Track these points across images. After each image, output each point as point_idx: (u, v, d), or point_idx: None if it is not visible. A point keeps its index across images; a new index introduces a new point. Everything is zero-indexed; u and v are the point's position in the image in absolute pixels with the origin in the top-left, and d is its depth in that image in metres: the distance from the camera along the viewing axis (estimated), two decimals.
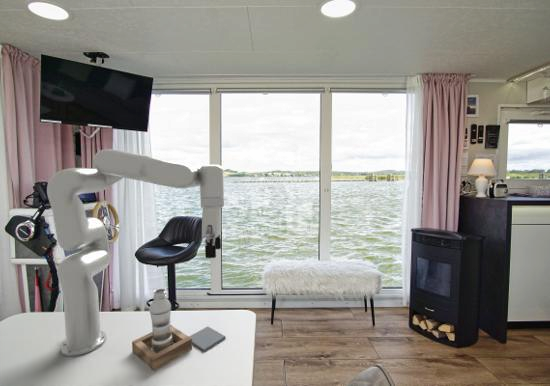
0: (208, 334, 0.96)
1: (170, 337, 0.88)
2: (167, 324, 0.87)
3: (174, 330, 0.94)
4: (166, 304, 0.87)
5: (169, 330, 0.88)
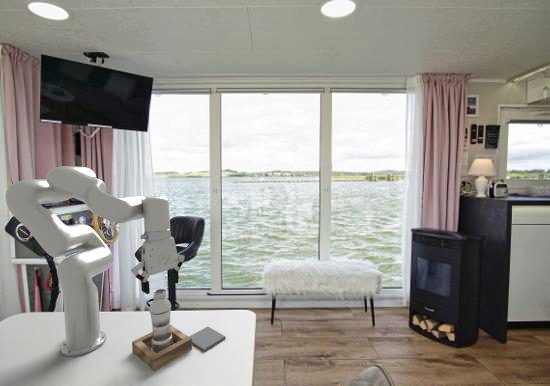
0: (208, 334, 0.96)
1: (170, 337, 0.88)
2: (167, 324, 0.87)
3: (174, 330, 0.94)
4: (166, 304, 0.87)
5: (169, 330, 0.88)
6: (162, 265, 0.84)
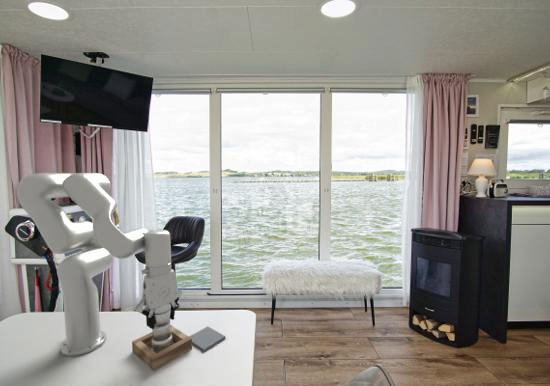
0: (208, 334, 0.96)
1: (170, 337, 0.88)
2: (167, 324, 0.87)
3: (174, 330, 0.94)
4: (166, 304, 0.87)
5: (169, 330, 0.88)
6: (163, 299, 0.85)
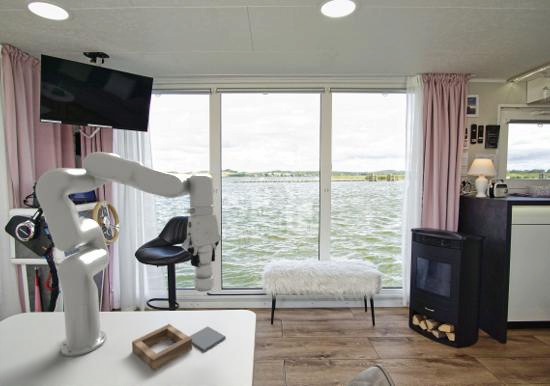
0: (208, 334, 0.96)
1: (212, 277, 0.92)
2: (209, 264, 0.91)
3: (174, 330, 0.94)
4: (209, 244, 0.91)
5: (211, 270, 0.92)
6: (206, 238, 0.89)
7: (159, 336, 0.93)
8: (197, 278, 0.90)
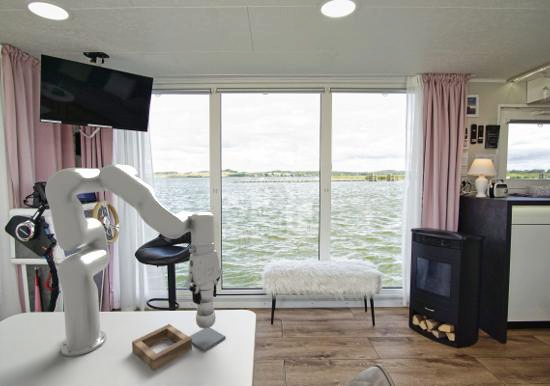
0: (208, 334, 0.96)
1: (213, 313, 0.93)
2: (211, 300, 0.92)
3: (174, 330, 0.94)
4: (210, 281, 0.92)
5: (212, 306, 0.93)
6: (207, 276, 0.90)
7: (159, 336, 0.93)
8: (199, 315, 0.91)
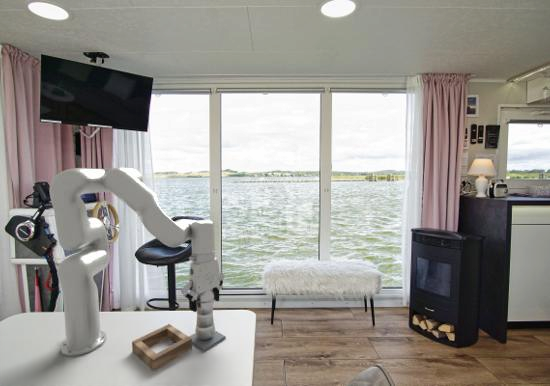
0: None
1: (213, 325, 0.94)
2: (211, 312, 0.93)
3: (174, 330, 0.94)
4: (210, 293, 0.92)
5: (212, 318, 0.93)
6: (208, 284, 0.91)
7: (159, 336, 0.93)
8: (198, 327, 0.92)
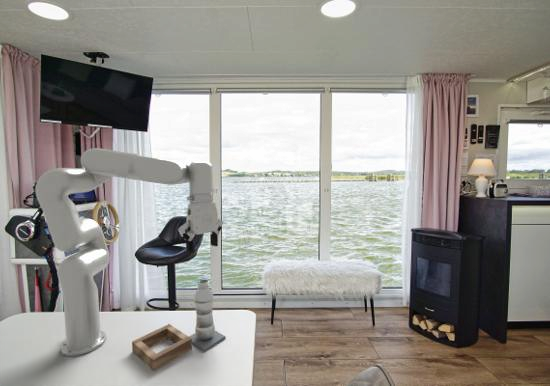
0: None
1: (213, 325, 0.94)
2: (210, 312, 0.93)
3: (174, 330, 0.94)
4: (210, 293, 0.92)
5: (212, 318, 0.93)
6: (205, 226, 0.89)
7: (159, 336, 0.93)
8: (198, 327, 0.92)
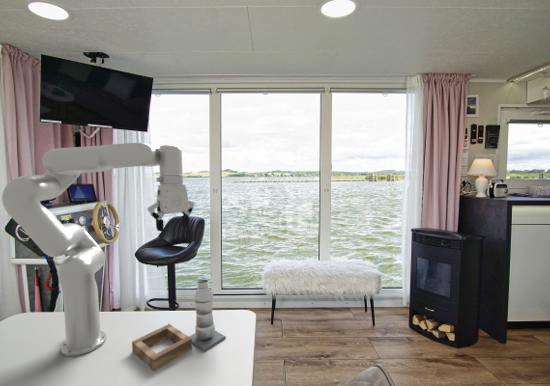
0: None
1: (213, 324, 0.94)
2: (210, 312, 0.93)
3: (174, 330, 0.94)
4: (209, 293, 0.92)
5: (212, 318, 0.93)
6: (175, 206, 0.94)
7: (159, 336, 0.93)
8: (198, 327, 0.92)
